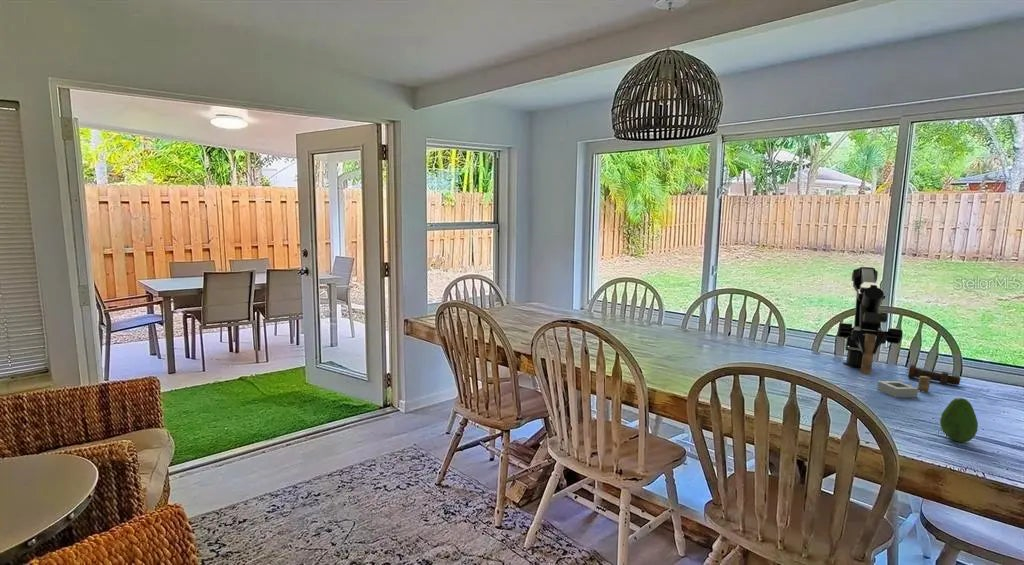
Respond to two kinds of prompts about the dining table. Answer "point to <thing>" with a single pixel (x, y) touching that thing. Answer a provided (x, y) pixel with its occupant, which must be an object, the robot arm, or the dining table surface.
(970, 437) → the avocado
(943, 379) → the bolt
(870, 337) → the long dowel
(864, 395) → the dining table surface
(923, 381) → the short dowel
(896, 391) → the hole block
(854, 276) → the robot arm
